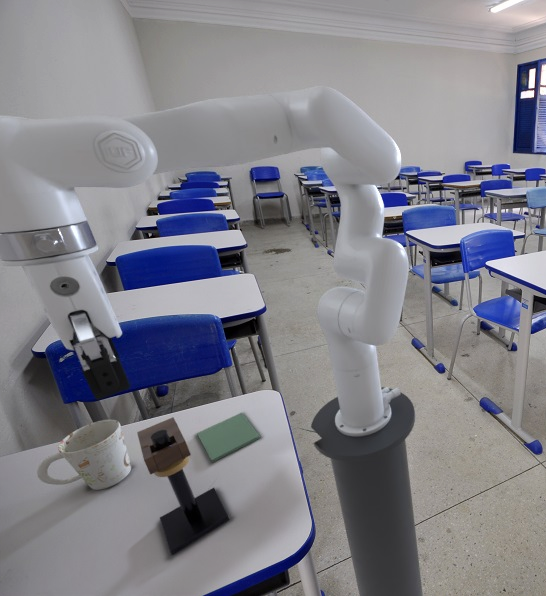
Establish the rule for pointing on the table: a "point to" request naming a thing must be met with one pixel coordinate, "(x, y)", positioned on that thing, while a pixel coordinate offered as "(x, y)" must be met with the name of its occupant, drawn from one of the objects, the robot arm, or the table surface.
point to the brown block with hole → (167, 454)
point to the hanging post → (187, 504)
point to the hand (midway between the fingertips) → (109, 377)
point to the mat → (227, 436)
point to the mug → (92, 456)
